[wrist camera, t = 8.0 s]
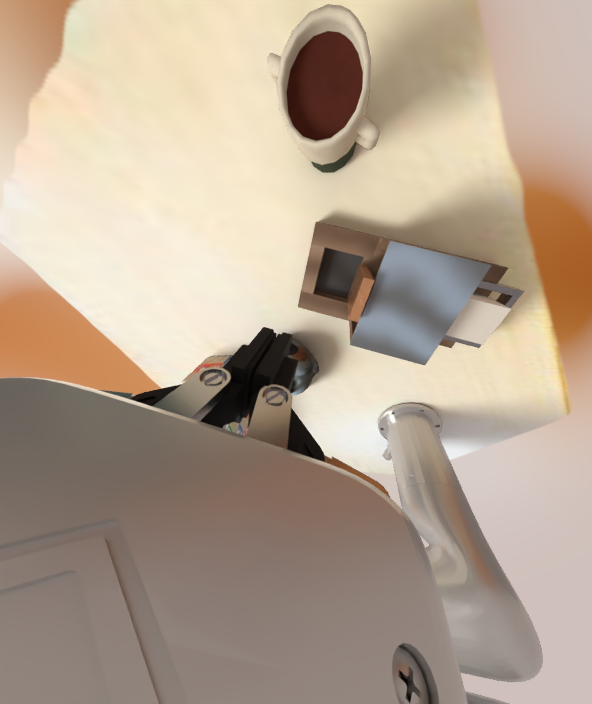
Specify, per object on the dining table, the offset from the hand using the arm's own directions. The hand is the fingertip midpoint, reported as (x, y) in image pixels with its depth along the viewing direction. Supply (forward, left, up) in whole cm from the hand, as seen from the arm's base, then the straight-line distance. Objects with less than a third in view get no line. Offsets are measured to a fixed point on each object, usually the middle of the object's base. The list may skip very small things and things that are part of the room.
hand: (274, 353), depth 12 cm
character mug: (+15, +3, -27) cm, 31 cm away
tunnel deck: (0, -12, -27) cm, 29 cm away
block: (0, -21, -24) cm, 32 cm away
